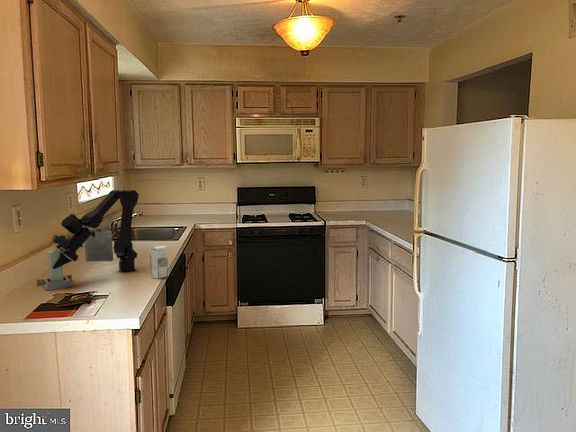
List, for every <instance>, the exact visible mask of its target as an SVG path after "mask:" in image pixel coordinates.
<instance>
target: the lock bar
mask: <svg viewBox="0 0 576 432" xmlns="http://www.w3.org/2000/svg"><path fill="white" fill-rule="evenodd" d="M60 252H61V253H62V251H60V250H58V249H57V250H56V249H55V250H54V249H53V250H47V256H48V268H49V269H48V270H49V278H50V282H57V281H64V279H63V276H64V265H62V266H60V267H58V268H56V269H53V266H54V264H55V263H56V261H57V260H58V259H59V257H60Z"/></svg>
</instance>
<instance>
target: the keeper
mask: <svg viewBox="0 0 576 432" xmlns="http://www.w3.org/2000/svg"><path fill="white" fill-rule="evenodd" d="M46 278H47V279H43V280H44V285H43V286H44V289H46V290H47V291H53V290H60V289H65V288H71V281H70V279H69V278H67V277H66V276H64V275H63V279H64V281H57V282H50V277H46Z"/></svg>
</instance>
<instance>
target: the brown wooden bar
mask: <svg viewBox="0 0 576 432" xmlns="http://www.w3.org/2000/svg"><path fill="white" fill-rule="evenodd" d="M63 276H66V277H67V278H69V279H70V282H72V281H73V278H72V277H73V275H72V274H65V275H64V274H63ZM47 278H48V277H44V278H43V277H42V278H36V286H37V287H38V286H44V280H43V279H47Z"/></svg>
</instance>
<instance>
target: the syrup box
mask: <svg viewBox="0 0 576 432" xmlns="http://www.w3.org/2000/svg"><path fill="white" fill-rule="evenodd" d="M168 254H169V253H168V246H166V245H163V244H159V245H154V246H150V247H149V260H150V261H149V263H150V264H149V265H150V269H149V270H150V277H151V278H153V279H157V280H159V279H165V278H167V277H169V266H168V265H169V263H168V260H169V259H168V258H169V257H168Z"/></svg>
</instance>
